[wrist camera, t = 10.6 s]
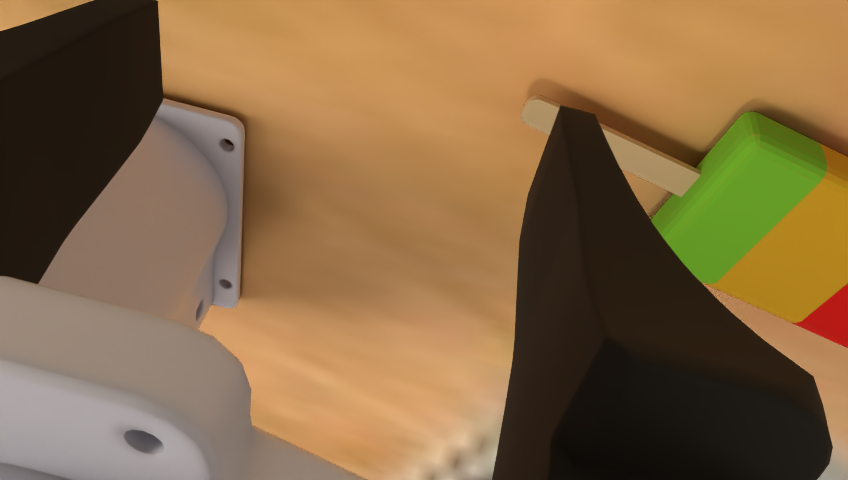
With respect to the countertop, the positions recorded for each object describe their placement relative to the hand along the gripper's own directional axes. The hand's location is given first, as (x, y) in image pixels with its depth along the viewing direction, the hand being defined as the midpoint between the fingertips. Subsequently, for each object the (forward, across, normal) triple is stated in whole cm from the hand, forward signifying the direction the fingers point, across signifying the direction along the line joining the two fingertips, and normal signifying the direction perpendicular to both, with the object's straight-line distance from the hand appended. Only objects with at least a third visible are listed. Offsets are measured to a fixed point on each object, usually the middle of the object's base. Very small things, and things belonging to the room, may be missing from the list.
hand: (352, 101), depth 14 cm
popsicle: (+10, -11, +6) cm, 16 cm away
